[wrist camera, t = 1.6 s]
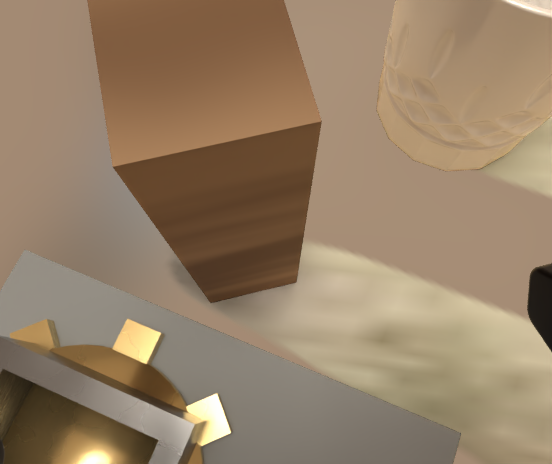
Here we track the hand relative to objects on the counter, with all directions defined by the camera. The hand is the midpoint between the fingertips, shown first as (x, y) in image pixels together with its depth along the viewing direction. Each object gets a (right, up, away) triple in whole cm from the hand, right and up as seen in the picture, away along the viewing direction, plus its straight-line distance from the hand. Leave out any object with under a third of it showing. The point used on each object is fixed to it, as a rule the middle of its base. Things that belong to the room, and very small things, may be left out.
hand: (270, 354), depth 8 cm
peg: (-1, +1, +13) cm, 13 cm away
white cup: (+8, +8, +15) cm, 19 cm away
